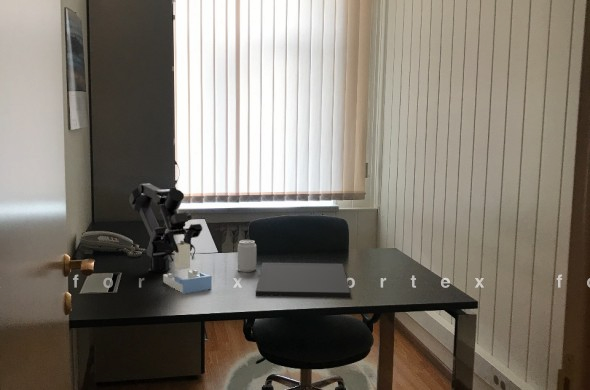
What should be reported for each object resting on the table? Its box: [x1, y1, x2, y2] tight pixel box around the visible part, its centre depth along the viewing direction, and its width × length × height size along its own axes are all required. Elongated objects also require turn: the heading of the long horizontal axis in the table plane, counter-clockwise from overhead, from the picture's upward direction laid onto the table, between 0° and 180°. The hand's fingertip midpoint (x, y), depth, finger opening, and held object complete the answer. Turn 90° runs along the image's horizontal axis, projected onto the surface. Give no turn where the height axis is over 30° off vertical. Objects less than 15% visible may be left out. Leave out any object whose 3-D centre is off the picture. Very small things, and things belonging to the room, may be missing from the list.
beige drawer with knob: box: [174, 240, 191, 271], centre depth 232 cm, size 4×4×10 cm
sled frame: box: [162, 269, 213, 295], centre depth 230 cm, size 18×11×5 cm, turn 35°
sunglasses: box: [168, 242, 196, 262], centre depth 275 cm, size 14×16×5 cm
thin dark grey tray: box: [255, 262, 351, 299], centre depth 239 cm, size 40×2×33 cm
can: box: [237, 239, 257, 273], centre depth 253 cm, size 8×8×12 cm
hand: (184, 251), depth 231 cm, fingers closed on beige drawer with knob, 4 cm apart
